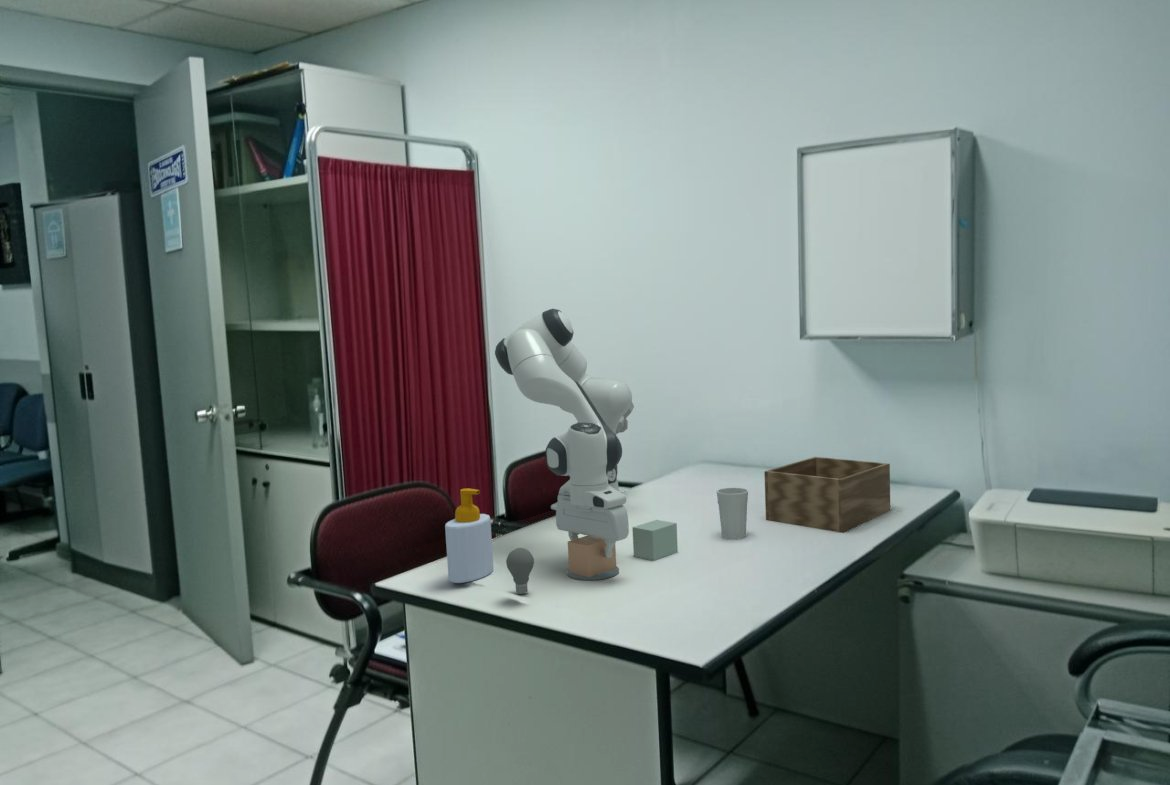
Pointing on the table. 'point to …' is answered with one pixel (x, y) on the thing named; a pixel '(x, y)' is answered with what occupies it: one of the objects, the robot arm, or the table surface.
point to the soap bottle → (468, 542)
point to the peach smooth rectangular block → (589, 556)
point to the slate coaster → (596, 577)
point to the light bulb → (520, 568)
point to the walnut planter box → (827, 493)
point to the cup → (733, 512)
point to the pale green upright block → (655, 539)
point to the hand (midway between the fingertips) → (592, 553)
